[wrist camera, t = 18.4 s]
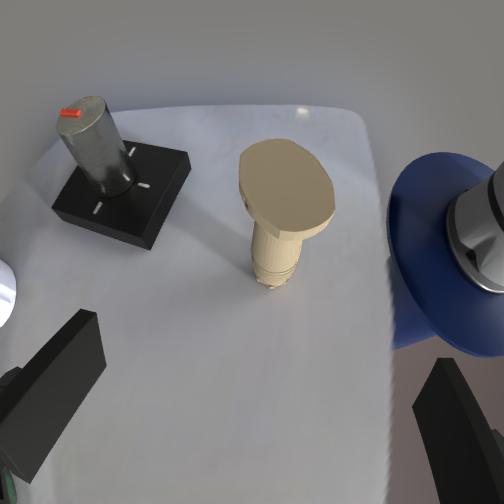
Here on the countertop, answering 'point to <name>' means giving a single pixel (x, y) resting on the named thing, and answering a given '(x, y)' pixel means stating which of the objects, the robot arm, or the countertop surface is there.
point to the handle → (283, 204)
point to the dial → (96, 146)
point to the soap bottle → (6, 292)
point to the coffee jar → (10, 486)
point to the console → (128, 197)
